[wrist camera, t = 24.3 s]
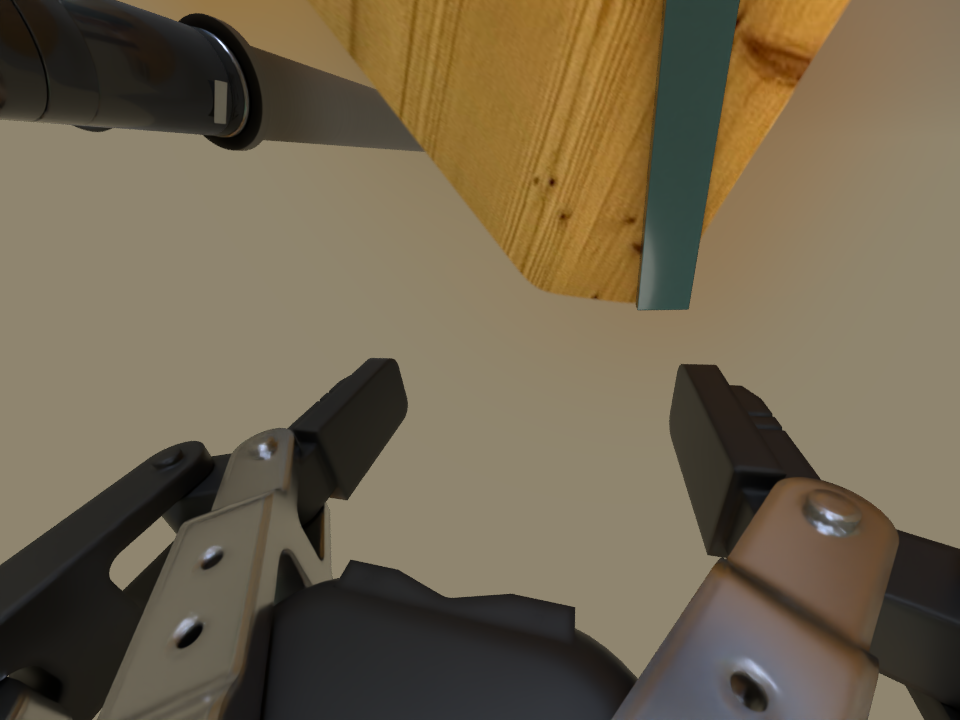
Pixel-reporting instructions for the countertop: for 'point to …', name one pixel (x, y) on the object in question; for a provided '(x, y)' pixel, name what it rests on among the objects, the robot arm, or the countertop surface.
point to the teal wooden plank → (682, 145)
